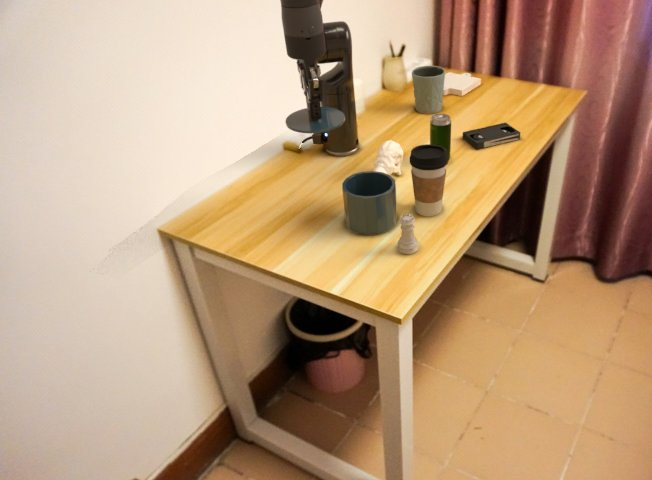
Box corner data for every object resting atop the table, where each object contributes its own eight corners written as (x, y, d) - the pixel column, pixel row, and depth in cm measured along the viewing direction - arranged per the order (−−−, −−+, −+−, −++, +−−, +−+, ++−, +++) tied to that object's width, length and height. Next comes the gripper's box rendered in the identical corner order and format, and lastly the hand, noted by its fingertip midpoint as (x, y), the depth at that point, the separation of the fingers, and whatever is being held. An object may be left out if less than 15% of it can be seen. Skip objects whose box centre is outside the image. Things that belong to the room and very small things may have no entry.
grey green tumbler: (449, 106, 173) (451, 68, 165) (434, 117, 166) (434, 78, 159) (422, 100, 177) (422, 63, 170) (406, 111, 170) (405, 73, 163)
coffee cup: (435, 223, 120) (436, 162, 111) (403, 213, 124) (401, 153, 115) (453, 205, 126) (455, 146, 117) (421, 196, 129) (421, 138, 120)
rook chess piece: (403, 257, 111) (402, 225, 106) (393, 246, 114) (392, 214, 109) (422, 251, 112) (422, 219, 107) (412, 240, 115) (411, 208, 110)
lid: (275, 132, 111) (270, 104, 107) (301, 109, 120) (297, 82, 116) (331, 139, 108) (328, 109, 104) (353, 114, 117) (351, 86, 113)
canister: (338, 231, 119) (333, 193, 113) (356, 204, 127) (353, 168, 122) (387, 238, 116) (385, 200, 110) (402, 210, 125) (401, 174, 119)
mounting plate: (457, 98, 177) (458, 93, 176) (425, 91, 184) (425, 85, 182) (484, 82, 189) (484, 76, 188) (452, 75, 195) (452, 70, 194)
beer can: (437, 167, 141) (438, 123, 133) (425, 159, 144) (425, 116, 137) (454, 161, 143) (455, 118, 136) (442, 153, 147) (442, 111, 139)
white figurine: (404, 139, 134) (384, 164, 126) (406, 168, 140) (387, 194, 132) (381, 135, 136) (360, 160, 129) (384, 164, 142) (364, 189, 134)
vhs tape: (476, 149, 148) (477, 143, 147) (462, 138, 154) (462, 132, 152) (520, 139, 152) (521, 132, 151) (505, 128, 158) (505, 122, 157)
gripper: (277, 22, 106) (291, 106, 117) (290, 41, 96) (303, 132, 107) (315, 18, 108) (325, 101, 119) (331, 36, 98) (340, 126, 108)
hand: (314, 115), depth 113 cm, fingers closed on lid, 2 cm apart
